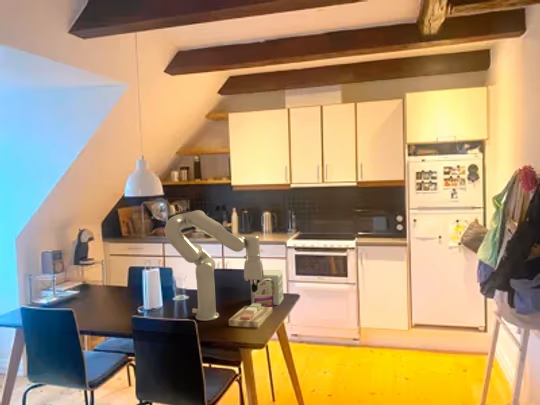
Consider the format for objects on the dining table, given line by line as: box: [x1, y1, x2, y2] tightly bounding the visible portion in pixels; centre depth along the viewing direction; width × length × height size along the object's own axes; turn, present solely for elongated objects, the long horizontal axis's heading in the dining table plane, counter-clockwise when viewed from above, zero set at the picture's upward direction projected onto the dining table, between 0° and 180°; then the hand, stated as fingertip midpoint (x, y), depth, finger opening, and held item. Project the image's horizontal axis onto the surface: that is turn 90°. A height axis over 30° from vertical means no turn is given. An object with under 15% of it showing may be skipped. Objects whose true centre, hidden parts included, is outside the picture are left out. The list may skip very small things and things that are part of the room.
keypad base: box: [228, 305, 273, 329], centre depth 237 cm, size 16×24×3 cm, turn 162°
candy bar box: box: [253, 278, 274, 308], centre depth 256 cm, size 11×5×16 cm, turn 105°
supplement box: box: [250, 269, 284, 306], centre depth 267 cm, size 17×13×18 cm
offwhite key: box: [245, 307, 257, 316], centre depth 237 cm, size 5×5×3 cm
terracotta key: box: [240, 313, 253, 320], centre depth 231 cm, size 5×5×3 cm
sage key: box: [249, 303, 261, 311], centre depth 244 cm, size 5×5×3 cm
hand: (254, 291), depth 243 cm, fingers closed
